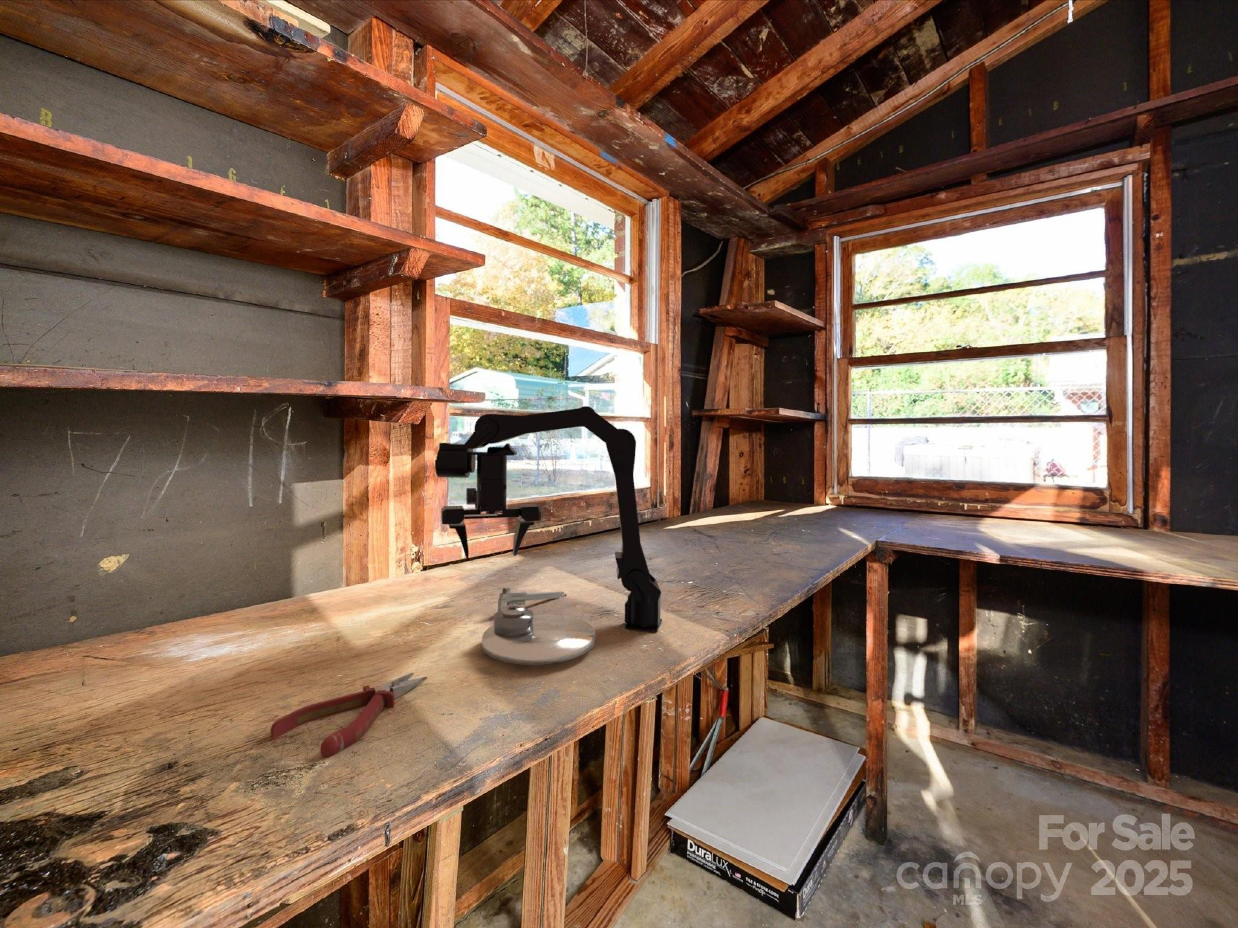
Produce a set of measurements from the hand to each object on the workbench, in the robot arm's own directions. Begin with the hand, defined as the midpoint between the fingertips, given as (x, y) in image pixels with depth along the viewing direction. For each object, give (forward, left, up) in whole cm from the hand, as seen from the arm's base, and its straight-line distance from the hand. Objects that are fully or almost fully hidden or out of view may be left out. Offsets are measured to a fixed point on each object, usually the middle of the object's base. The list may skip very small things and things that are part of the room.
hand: (491, 556), depth 107 cm
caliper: (-3, -14, -15) cm, 21 cm away
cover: (-8, +8, -11) cm, 16 cm away
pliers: (+1, +35, -15) cm, 38 cm away
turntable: (-13, +8, -13) cm, 20 cm away
